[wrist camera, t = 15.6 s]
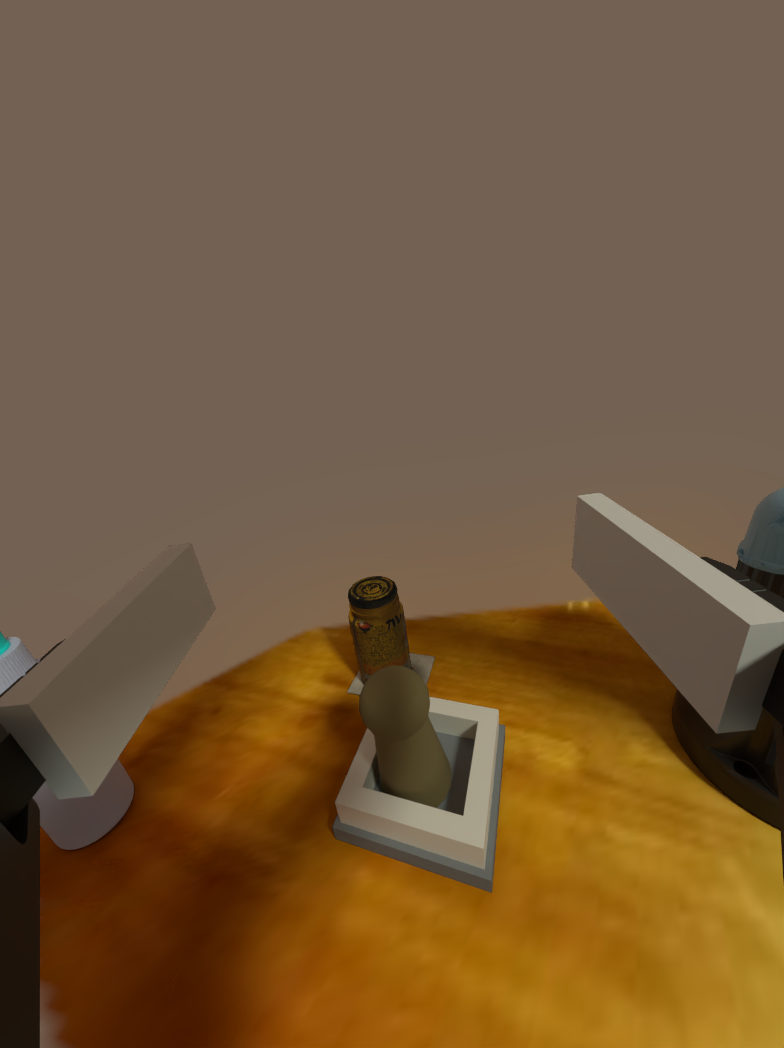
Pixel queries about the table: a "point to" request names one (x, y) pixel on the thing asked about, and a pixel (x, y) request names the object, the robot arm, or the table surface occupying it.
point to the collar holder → (426, 832)
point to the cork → (405, 736)
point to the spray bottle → (70, 817)
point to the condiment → (380, 631)
